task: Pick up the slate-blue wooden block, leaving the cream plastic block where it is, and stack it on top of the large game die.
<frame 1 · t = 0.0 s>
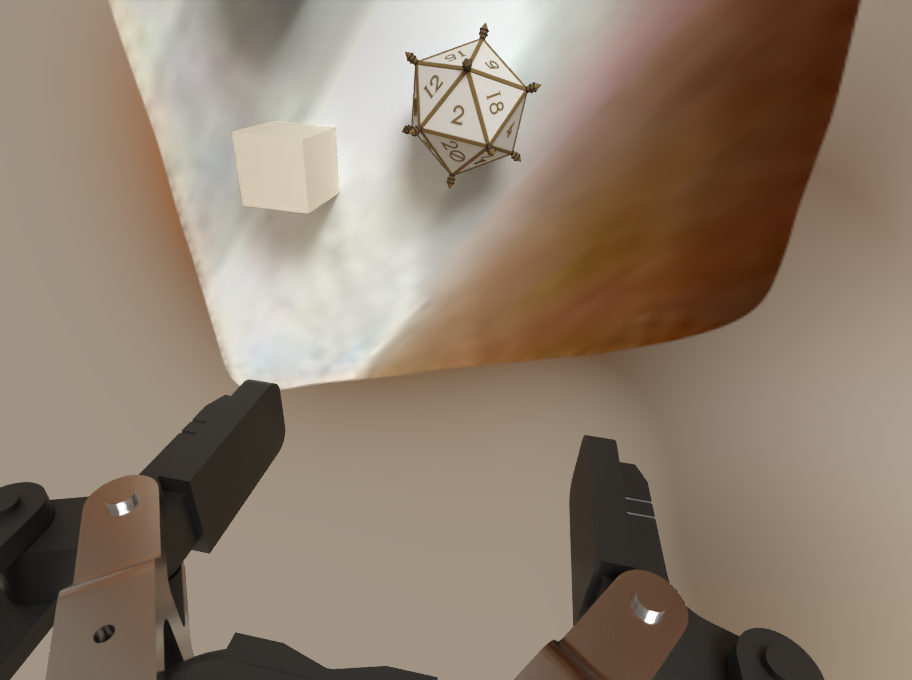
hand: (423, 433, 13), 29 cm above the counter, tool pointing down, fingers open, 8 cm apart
cream block: (307, 157, 40), on the counter
game die: (475, 103, 36), on the counter
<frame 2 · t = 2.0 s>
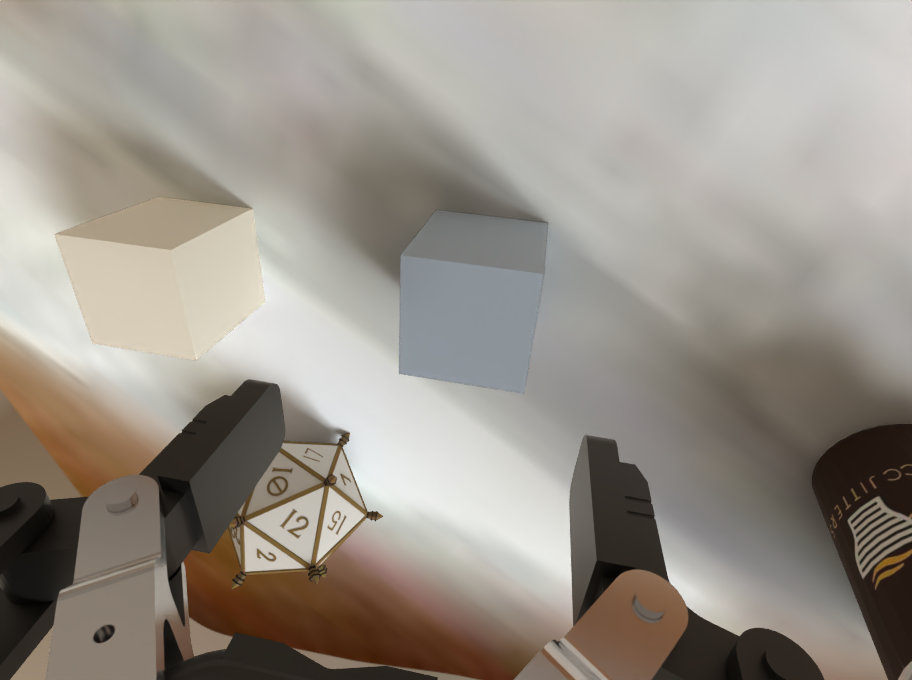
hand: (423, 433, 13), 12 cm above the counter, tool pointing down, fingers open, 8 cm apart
slate block: (486, 268, 24), on the counter
cream block: (214, 251, 26), on the counter
game die: (324, 454, 32), on the counter
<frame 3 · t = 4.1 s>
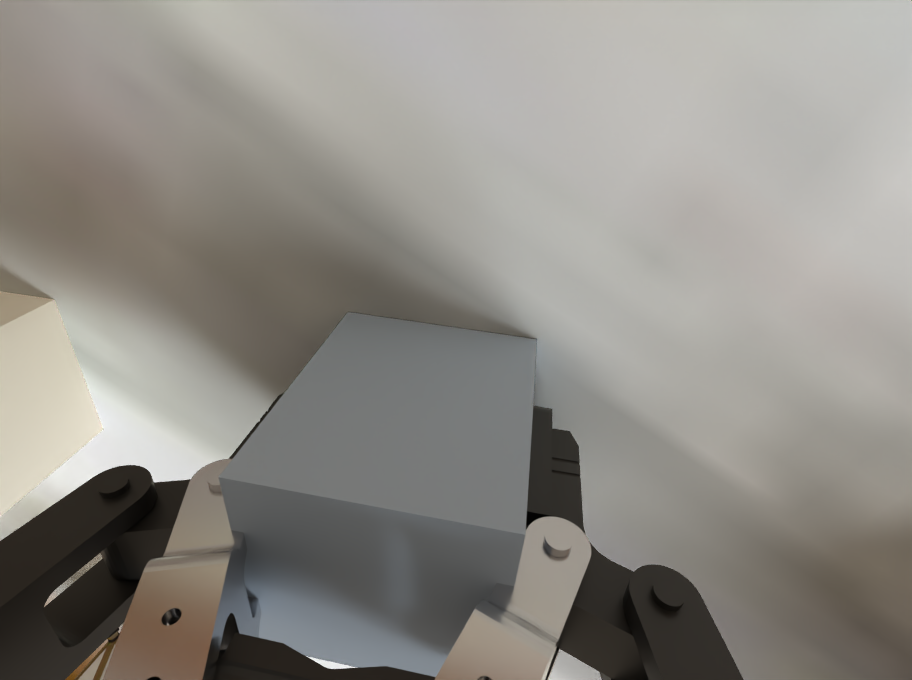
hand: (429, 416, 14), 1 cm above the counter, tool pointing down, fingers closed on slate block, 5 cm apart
slate block: (435, 402, 14), on the counter, touching gripper
cream block: (12, 357, 16), on the counter
game die: (225, 614, 23), on the counter
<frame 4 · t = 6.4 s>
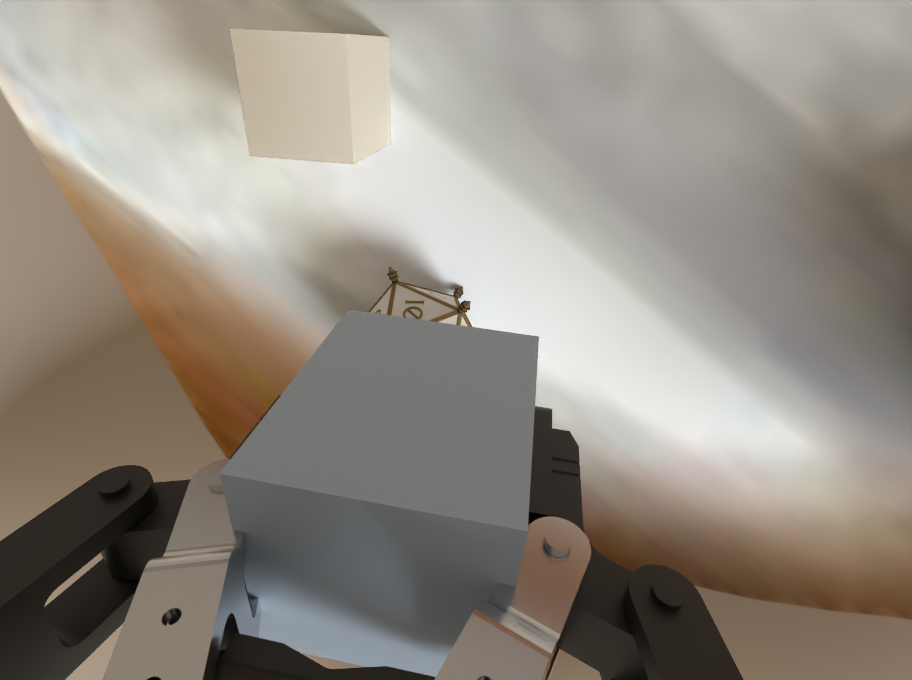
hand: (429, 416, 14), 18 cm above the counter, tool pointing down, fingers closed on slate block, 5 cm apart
slate block: (436, 399, 14), point 17 cm above the counter, touching gripper
cream block: (344, 89, 27), on the counter
game die: (433, 316, 33), on the counter
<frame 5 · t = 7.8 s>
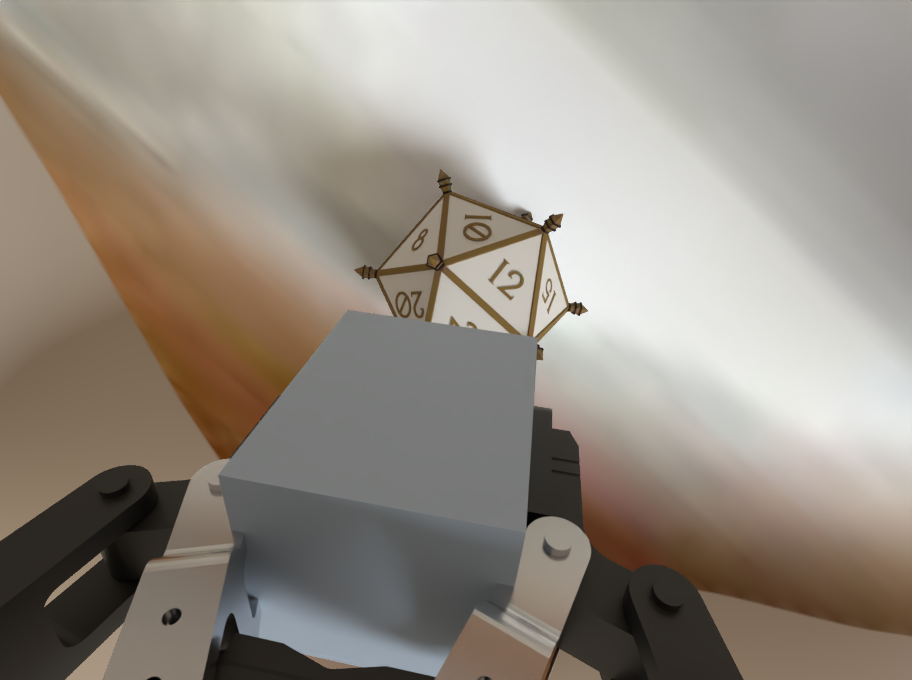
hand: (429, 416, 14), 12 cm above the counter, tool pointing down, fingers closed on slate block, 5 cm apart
slate block: (435, 400, 14), point 12 cm above the counter, touching gripper
game die: (486, 255, 25), on the counter
when the fingers open (10 cm above the counter, at t = 9.0 s): slate block drops 2 cm, resting on game die.
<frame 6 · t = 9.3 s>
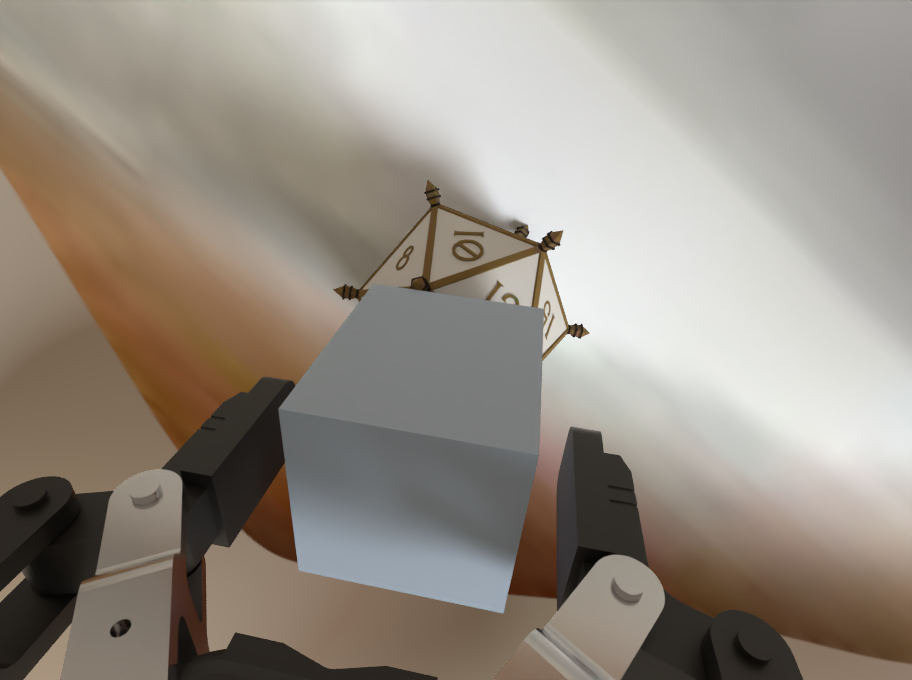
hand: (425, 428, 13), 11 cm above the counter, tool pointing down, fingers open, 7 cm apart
slate block: (450, 367, 16), point 8 cm above the counter, touching game die
game die: (479, 270, 23), on the counter, touching slate block
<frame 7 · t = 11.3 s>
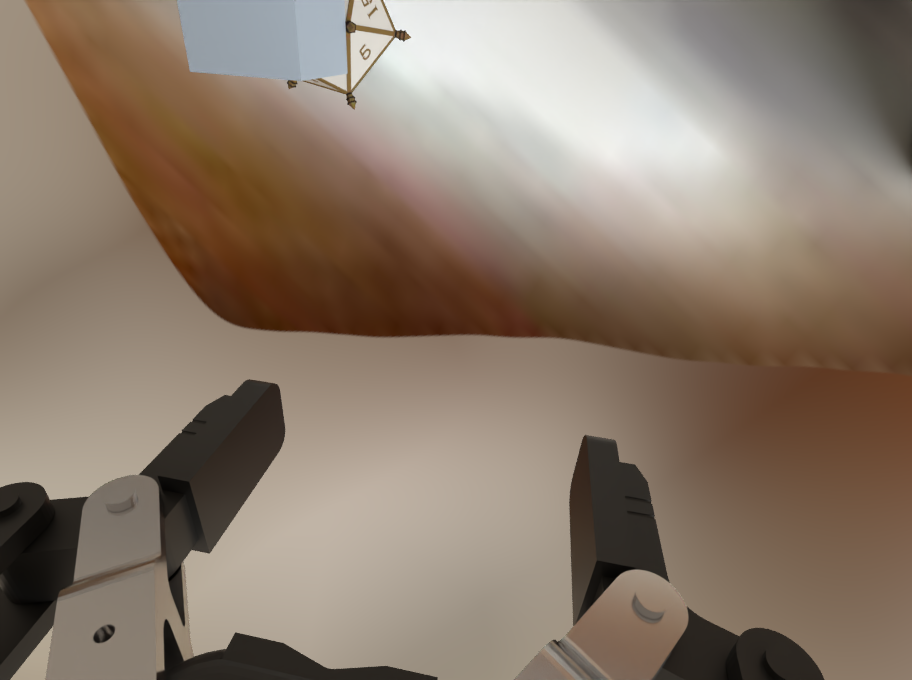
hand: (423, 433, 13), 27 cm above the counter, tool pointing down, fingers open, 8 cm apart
slate block: (297, 13, 25), point 8 cm above the counter, touching game die
game die: (348, 21, 32), on the counter, touching slate block
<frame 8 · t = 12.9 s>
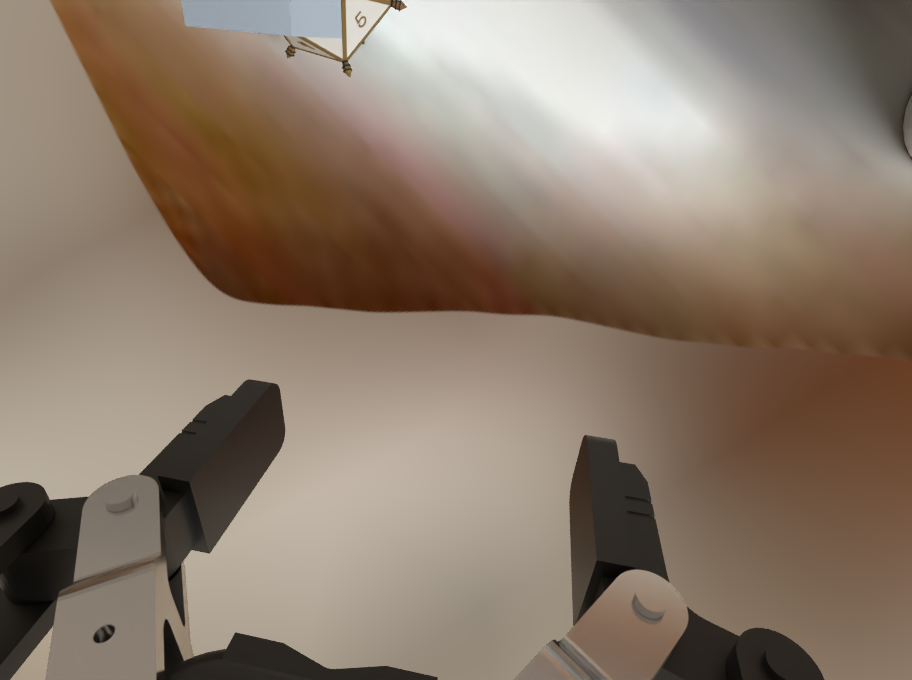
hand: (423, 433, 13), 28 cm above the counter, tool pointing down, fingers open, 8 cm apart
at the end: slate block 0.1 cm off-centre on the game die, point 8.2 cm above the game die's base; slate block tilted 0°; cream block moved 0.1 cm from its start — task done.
